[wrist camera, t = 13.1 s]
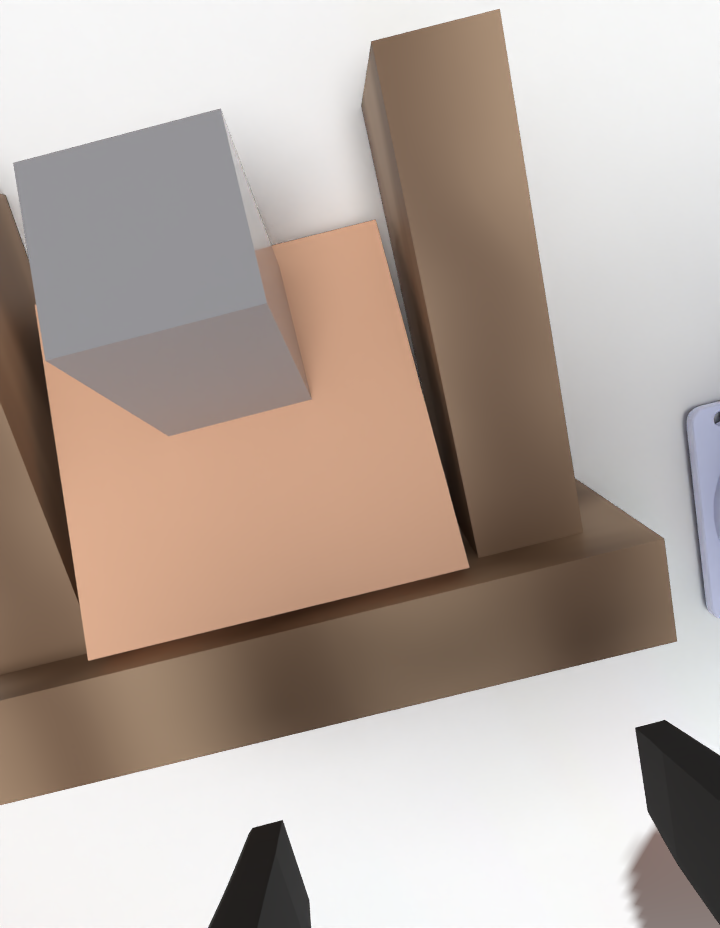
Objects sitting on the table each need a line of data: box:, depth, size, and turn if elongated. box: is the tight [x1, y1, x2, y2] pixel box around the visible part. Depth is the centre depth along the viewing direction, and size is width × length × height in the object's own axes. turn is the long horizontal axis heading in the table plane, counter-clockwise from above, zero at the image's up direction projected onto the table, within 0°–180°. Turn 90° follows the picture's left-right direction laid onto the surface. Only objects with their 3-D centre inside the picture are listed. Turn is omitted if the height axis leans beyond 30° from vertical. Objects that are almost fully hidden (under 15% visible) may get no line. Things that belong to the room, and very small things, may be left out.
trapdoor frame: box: [0, 9, 677, 805], centre depth 17 cm, size 20×16×6 cm
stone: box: [13, 109, 312, 436], centre depth 14 cm, size 4×4×6 cm
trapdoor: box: [35, 220, 469, 661], centre depth 17 cm, size 10×10×1 cm
